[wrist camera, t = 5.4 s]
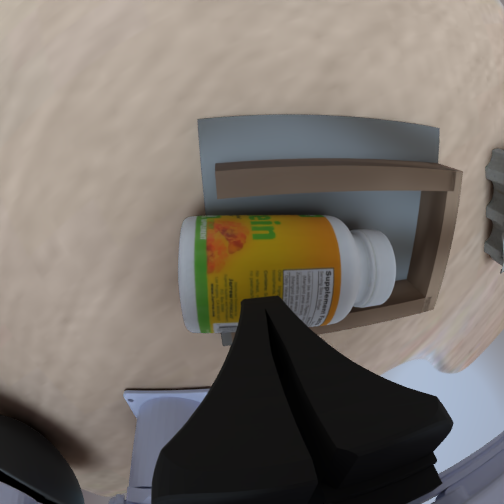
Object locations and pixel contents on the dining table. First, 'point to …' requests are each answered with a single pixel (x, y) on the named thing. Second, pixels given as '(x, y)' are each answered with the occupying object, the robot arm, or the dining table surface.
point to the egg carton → (496, 207)
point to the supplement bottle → (279, 268)
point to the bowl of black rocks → (35, 465)
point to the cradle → (341, 190)
